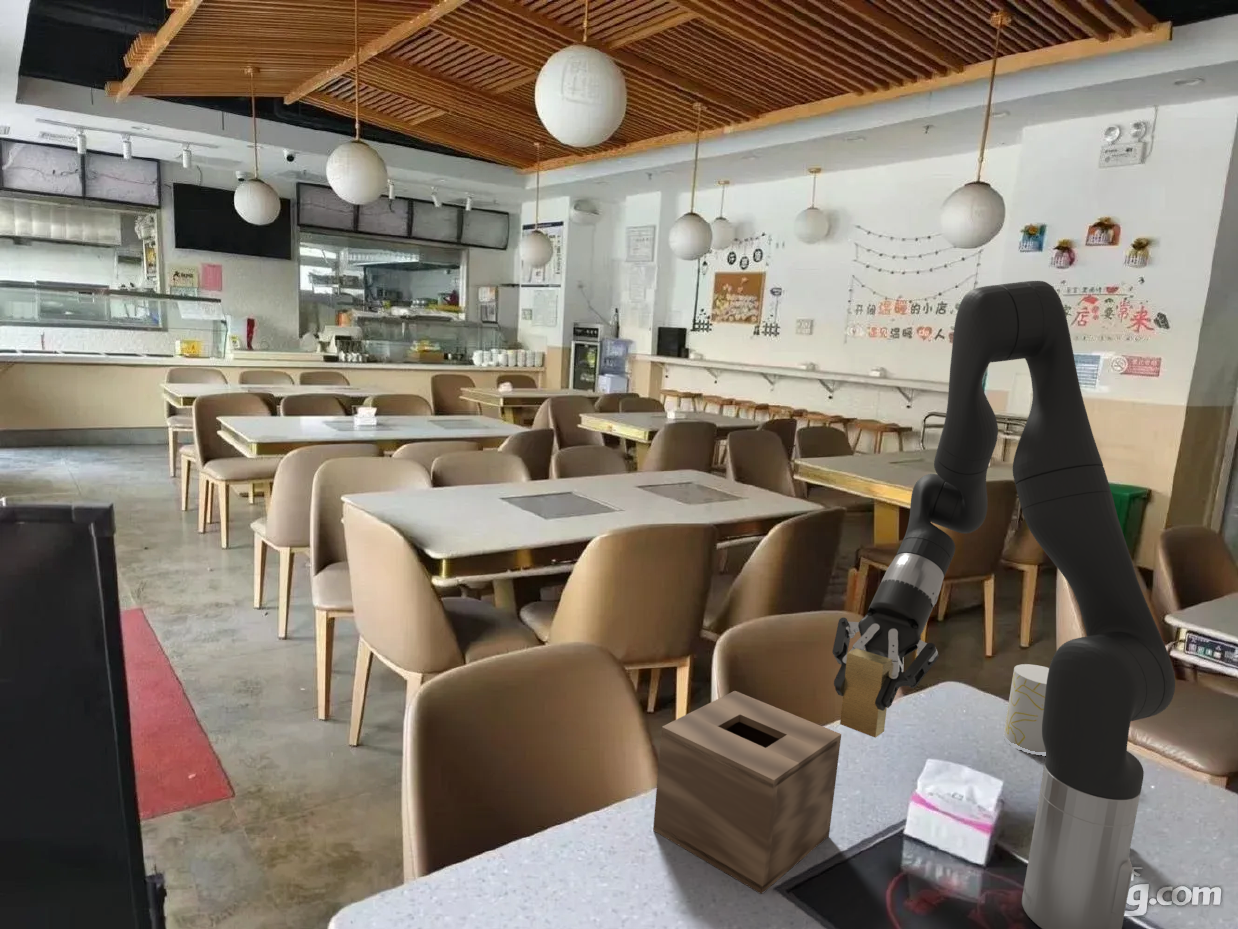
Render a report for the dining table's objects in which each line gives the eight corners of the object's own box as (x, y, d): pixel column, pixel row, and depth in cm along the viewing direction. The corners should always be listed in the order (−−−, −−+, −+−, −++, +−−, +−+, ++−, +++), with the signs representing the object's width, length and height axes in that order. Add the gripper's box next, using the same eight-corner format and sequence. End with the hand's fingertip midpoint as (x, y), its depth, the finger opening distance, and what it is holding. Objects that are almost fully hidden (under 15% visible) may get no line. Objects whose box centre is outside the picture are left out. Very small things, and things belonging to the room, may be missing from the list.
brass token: (849, 718, 111) (856, 648, 109) (884, 731, 108) (892, 659, 106) (840, 724, 109) (847, 652, 107) (875, 737, 106) (883, 664, 104)
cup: (992, 733, 136) (1002, 665, 134) (1031, 729, 138) (1042, 662, 137) (1029, 758, 128) (1041, 687, 126) (1070, 754, 131) (1082, 683, 129)
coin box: (725, 784, 115) (734, 690, 112) (828, 836, 104) (841, 734, 102) (653, 830, 103) (661, 726, 101) (761, 894, 92) (773, 780, 90)
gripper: (852, 567, 116) (801, 669, 109) (954, 591, 106) (906, 705, 99) (865, 596, 120) (817, 695, 113) (964, 622, 111) (918, 732, 104)
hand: (859, 699), depth 106 cm, fingers closed on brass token, 5 cm apart
